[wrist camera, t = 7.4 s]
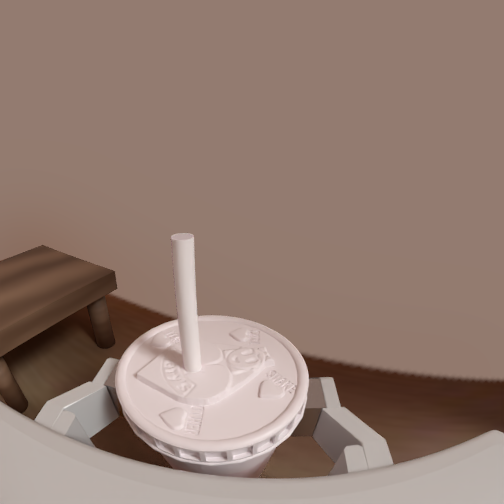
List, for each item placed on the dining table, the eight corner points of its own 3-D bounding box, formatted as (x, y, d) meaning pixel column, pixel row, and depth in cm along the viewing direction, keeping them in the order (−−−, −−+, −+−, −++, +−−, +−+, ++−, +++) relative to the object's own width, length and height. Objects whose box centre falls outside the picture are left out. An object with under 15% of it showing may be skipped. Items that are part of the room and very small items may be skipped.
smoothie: (157, 444, 14) (98, 215, 9) (255, 426, 16) (272, 204, 11) (179, 533, 8) (35, 321, 3) (297, 505, 10) (400, 273, 5)
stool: (127, 340, 23) (114, 270, 21) (15, 425, 11) (-32, 349, 9) (54, 298, 28) (42, 245, 26) (-32, 346, 16) (-55, 286, 13)
